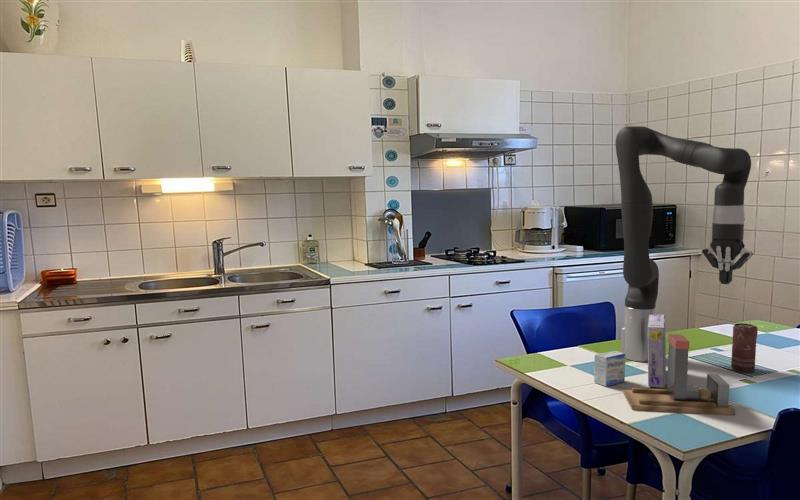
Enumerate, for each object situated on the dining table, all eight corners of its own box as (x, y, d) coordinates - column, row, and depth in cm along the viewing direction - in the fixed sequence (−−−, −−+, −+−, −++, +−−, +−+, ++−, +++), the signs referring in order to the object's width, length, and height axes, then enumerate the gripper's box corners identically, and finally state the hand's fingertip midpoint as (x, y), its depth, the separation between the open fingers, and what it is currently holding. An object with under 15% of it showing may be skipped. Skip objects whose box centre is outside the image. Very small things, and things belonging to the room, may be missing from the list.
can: (759, 373, 165) (761, 328, 164) (735, 372, 167) (738, 327, 165) (750, 367, 171) (753, 323, 170) (728, 366, 173) (730, 322, 171)
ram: (673, 401, 141) (675, 340, 140) (666, 392, 148) (668, 334, 146) (699, 402, 140) (701, 341, 138) (691, 393, 147) (693, 334, 145)
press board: (632, 409, 141) (632, 401, 141) (623, 393, 152) (623, 386, 152) (734, 415, 137) (735, 406, 137) (718, 398, 148) (718, 390, 147)
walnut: (692, 400, 144) (693, 387, 143) (699, 397, 146) (700, 384, 145) (706, 404, 141) (707, 391, 140) (713, 401, 143) (714, 388, 142)
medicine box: (605, 387, 157) (606, 357, 156) (593, 382, 161) (594, 353, 160) (625, 382, 161) (625, 353, 160) (612, 377, 165) (613, 349, 164)
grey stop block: (717, 407, 139) (718, 384, 138) (706, 395, 147) (707, 373, 146) (728, 407, 138) (729, 384, 138) (716, 395, 146) (717, 373, 145)
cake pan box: (647, 367, 173) (649, 311, 171) (665, 369, 171) (667, 313, 169) (645, 387, 156) (647, 326, 154) (665, 390, 154) (667, 328, 152)
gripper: (696, 221, 155) (694, 282, 157) (747, 223, 144) (744, 288, 146) (710, 220, 159) (708, 279, 161) (760, 221, 149) (757, 285, 151)
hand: (725, 283), depth 154 cm, fingers closed
